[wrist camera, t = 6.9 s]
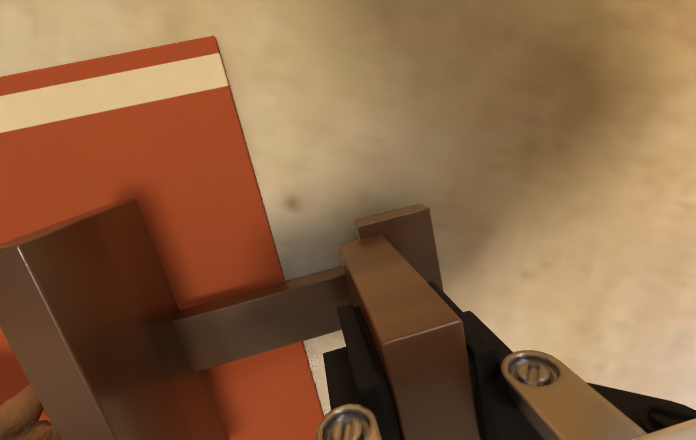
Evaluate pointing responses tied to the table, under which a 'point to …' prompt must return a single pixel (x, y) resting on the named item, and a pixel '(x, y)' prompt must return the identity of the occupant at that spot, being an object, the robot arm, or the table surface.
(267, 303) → the rod with end plates
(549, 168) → the table surface
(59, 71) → the towel
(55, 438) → the lion figurine
